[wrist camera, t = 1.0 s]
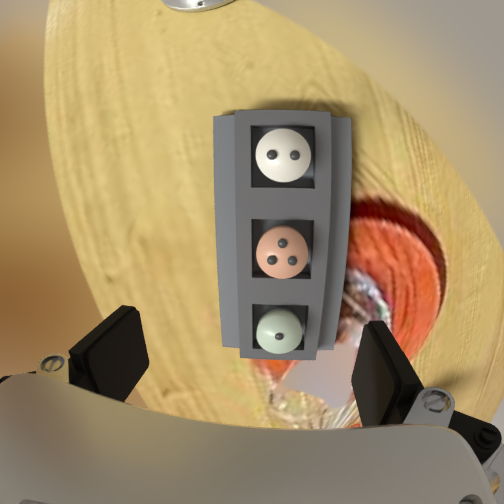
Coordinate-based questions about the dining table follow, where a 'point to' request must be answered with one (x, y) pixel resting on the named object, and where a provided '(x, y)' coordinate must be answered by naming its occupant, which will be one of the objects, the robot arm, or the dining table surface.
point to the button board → (281, 213)
